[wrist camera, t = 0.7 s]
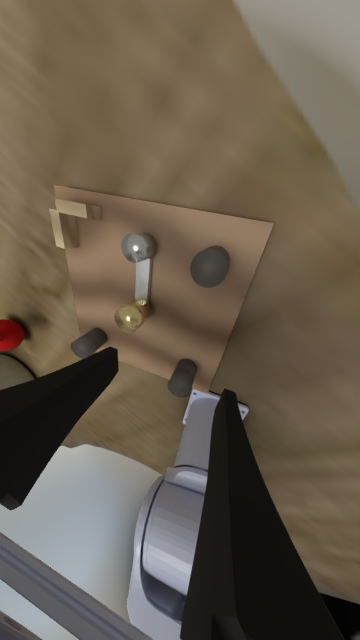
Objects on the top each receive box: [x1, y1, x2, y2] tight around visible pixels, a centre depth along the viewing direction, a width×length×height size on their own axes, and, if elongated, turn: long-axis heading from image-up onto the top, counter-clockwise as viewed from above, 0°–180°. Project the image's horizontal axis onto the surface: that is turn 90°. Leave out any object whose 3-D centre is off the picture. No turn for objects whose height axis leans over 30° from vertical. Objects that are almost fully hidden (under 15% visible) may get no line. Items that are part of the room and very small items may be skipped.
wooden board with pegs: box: [49, 185, 274, 397], centre depth 18 cm, size 20×20×5 cm
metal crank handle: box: [114, 233, 157, 333], centre depth 16 cm, size 9×3×3 cm, turn 171°
